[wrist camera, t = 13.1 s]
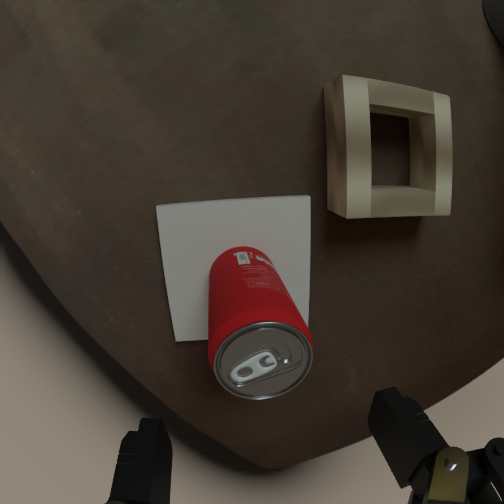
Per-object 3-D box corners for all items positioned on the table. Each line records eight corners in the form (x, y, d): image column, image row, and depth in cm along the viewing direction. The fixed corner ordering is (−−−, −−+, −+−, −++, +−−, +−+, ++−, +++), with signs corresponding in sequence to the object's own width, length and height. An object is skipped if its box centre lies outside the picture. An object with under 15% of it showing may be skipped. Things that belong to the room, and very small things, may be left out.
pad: (158, 205, 23) (156, 206, 23) (307, 195, 25) (310, 196, 24) (176, 336, 27) (175, 341, 26) (305, 324, 28) (307, 328, 27)
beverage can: (283, 282, 26) (332, 372, 14) (229, 312, 26) (243, 416, 14) (254, 230, 24) (291, 296, 13) (196, 262, 24) (185, 351, 13)
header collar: (323, 86, 22) (342, 74, 18) (422, 100, 23) (449, 96, 19) (327, 209, 25) (346, 218, 21) (424, 206, 26) (450, 215, 22)
